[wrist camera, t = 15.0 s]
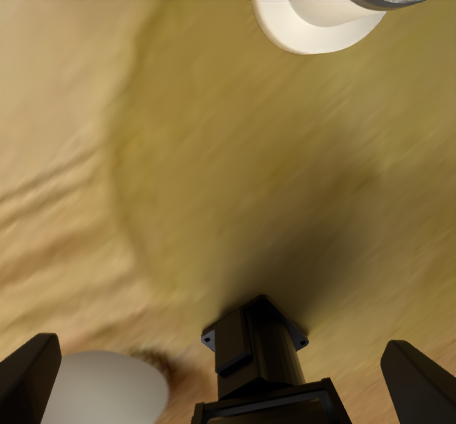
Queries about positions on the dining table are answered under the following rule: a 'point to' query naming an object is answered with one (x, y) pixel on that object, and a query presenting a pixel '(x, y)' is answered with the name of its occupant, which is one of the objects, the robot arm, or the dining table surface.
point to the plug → (320, 22)
